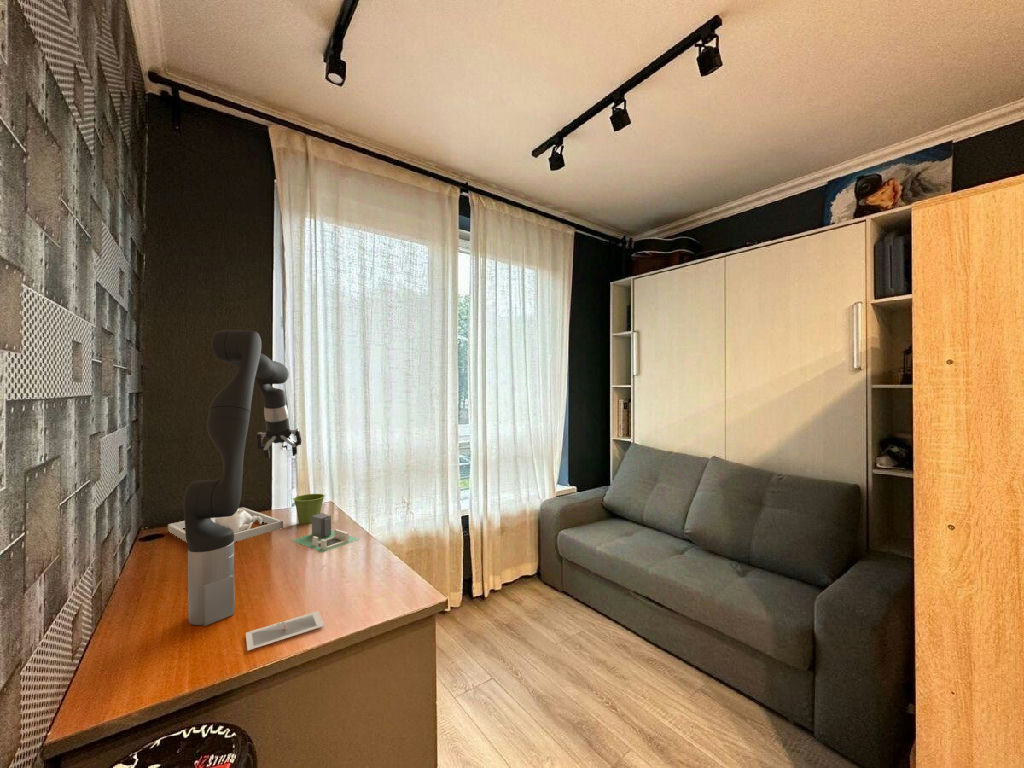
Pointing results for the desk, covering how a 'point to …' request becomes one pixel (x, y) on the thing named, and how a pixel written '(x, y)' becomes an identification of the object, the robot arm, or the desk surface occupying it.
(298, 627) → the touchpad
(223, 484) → the robot arm
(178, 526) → the light grey flat tray
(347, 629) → the desk surface
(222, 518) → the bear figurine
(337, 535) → the board
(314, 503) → the plant pot
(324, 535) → the plug
